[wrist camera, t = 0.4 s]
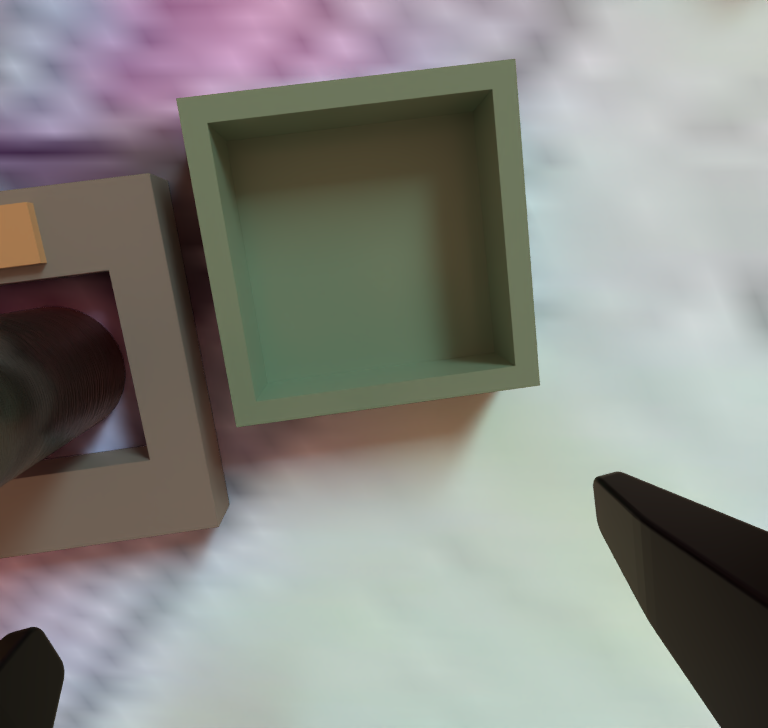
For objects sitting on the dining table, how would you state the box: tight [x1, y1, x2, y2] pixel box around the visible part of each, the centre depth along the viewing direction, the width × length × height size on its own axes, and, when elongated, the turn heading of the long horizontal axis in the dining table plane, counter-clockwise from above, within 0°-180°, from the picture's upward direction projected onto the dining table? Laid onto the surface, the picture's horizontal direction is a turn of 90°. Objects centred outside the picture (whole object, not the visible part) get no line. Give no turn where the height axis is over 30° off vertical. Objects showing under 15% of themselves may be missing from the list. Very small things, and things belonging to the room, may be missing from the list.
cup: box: [176, 59, 540, 427], centre depth 20 cm, size 11×11×4 cm
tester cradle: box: [0, 173, 229, 558], centre depth 21 cm, size 13×11×2 cm
